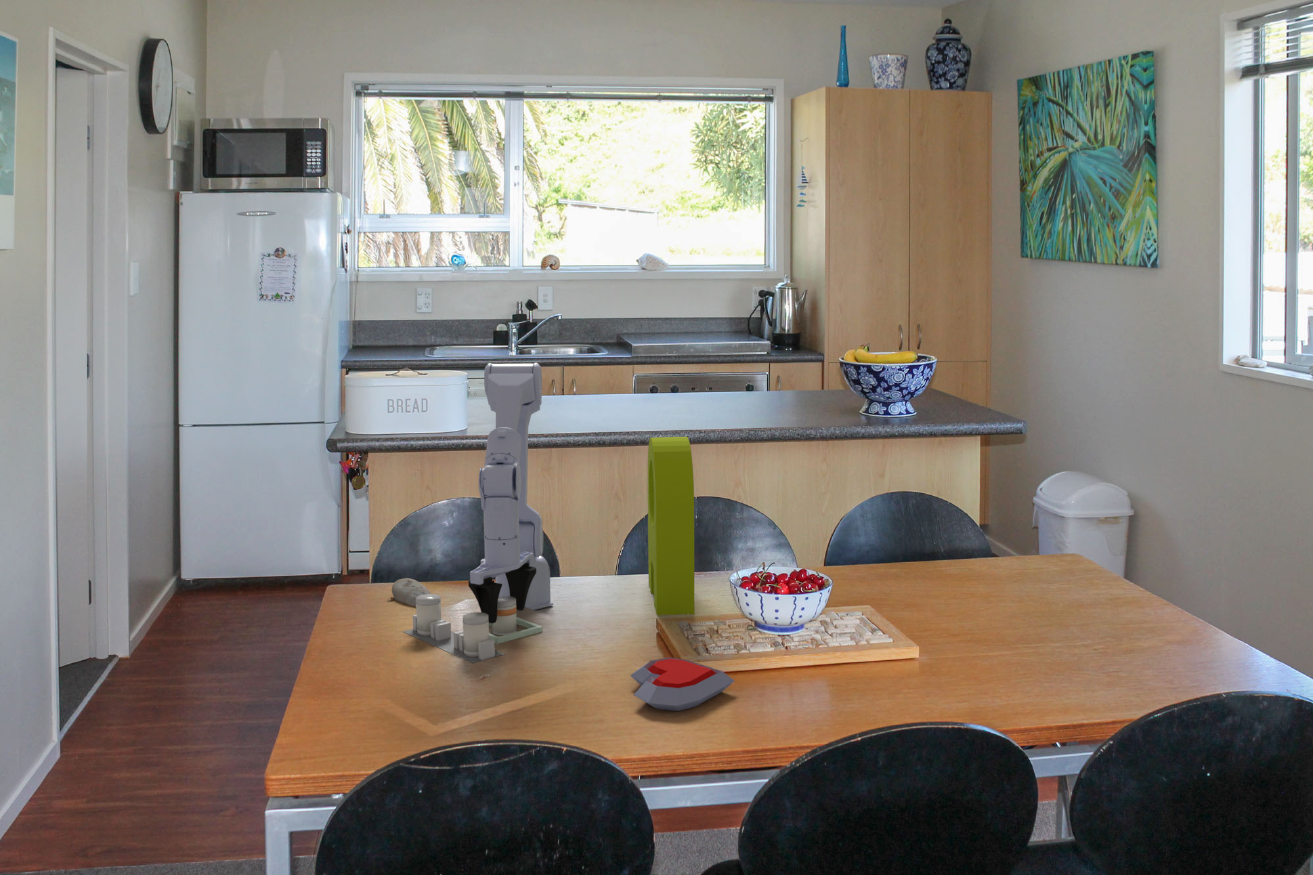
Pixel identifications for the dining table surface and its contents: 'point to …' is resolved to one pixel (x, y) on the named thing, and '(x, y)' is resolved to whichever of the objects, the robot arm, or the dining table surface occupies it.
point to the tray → (532, 630)
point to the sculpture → (678, 683)
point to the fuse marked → (505, 616)
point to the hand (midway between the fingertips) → (504, 615)
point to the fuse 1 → (427, 612)
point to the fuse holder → (453, 641)
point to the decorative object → (671, 525)
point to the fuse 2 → (474, 632)
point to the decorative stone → (408, 591)
